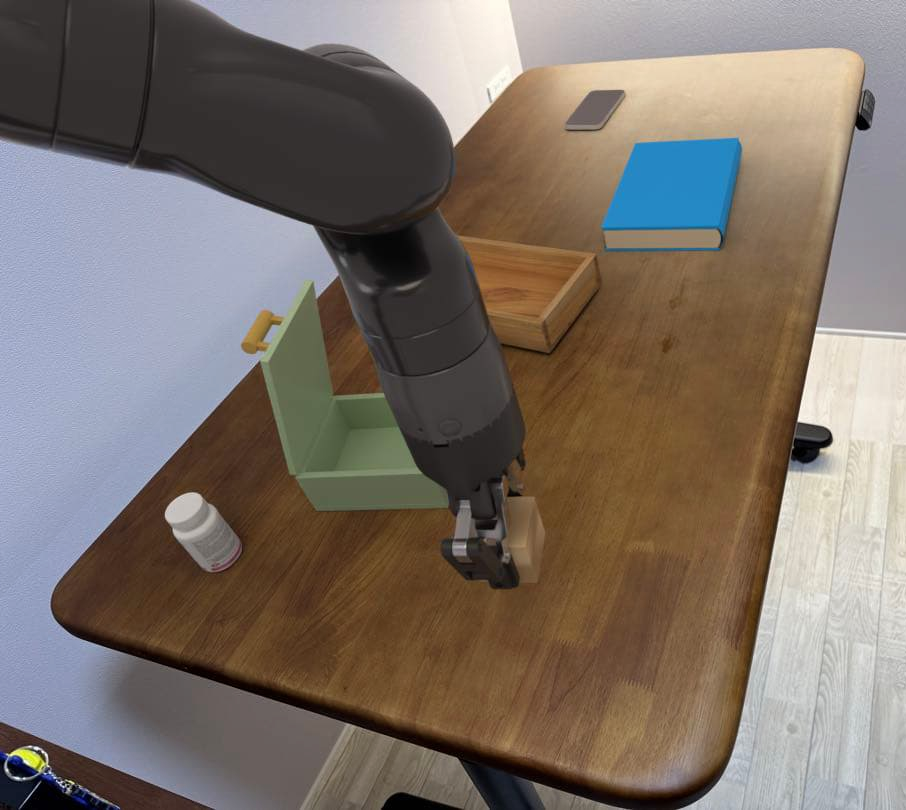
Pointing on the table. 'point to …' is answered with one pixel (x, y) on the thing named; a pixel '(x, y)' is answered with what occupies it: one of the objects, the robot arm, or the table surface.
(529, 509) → the block
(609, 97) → the smartphone
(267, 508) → the table surface
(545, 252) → the tray
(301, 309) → the cover
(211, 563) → the pill bottle
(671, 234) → the book
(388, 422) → the green box
